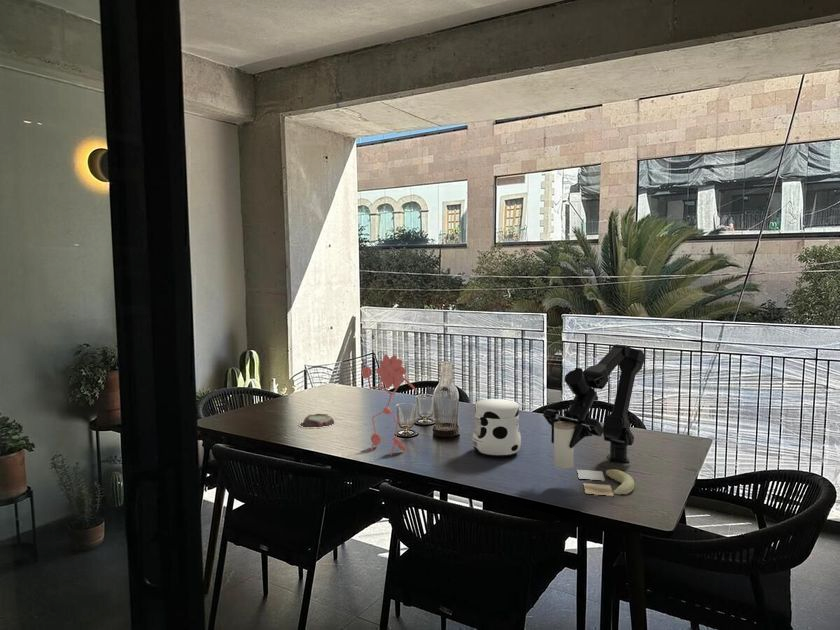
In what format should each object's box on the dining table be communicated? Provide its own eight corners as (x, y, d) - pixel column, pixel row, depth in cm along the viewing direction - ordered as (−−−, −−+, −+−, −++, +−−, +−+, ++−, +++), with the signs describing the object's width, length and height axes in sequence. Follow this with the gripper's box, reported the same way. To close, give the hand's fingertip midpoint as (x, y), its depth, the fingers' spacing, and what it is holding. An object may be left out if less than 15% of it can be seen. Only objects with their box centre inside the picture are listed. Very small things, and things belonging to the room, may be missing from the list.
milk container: (528, 450, 214) (529, 402, 213) (507, 464, 200) (508, 412, 198) (486, 442, 224) (486, 396, 222) (463, 454, 210) (463, 405, 208)
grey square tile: (576, 470, 193) (576, 469, 193) (602, 472, 192) (602, 471, 192) (578, 479, 186) (578, 478, 186) (605, 481, 184) (605, 480, 184)
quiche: (284, 424, 253) (283, 415, 252) (325, 416, 265) (325, 408, 265) (306, 435, 236) (306, 425, 236) (349, 426, 249) (349, 417, 248)
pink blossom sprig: (409, 460, 203) (409, 360, 201) (352, 447, 218) (352, 354, 215) (433, 449, 216) (434, 355, 214) (378, 438, 231) (378, 349, 228)
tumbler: (552, 461, 184) (553, 420, 183) (573, 462, 183) (573, 421, 182) (553, 468, 178) (554, 426, 177) (574, 469, 177) (575, 427, 176)
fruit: (628, 478, 188) (628, 468, 187) (638, 496, 173) (638, 485, 173) (605, 477, 189) (605, 466, 189) (613, 495, 174) (613, 484, 174)
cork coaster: (583, 484, 181) (583, 483, 181) (610, 486, 180) (610, 485, 180) (585, 494, 174) (585, 493, 174) (613, 496, 172) (613, 495, 172)
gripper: (617, 423, 183) (598, 466, 177) (566, 412, 197) (546, 452, 191) (605, 403, 177) (584, 446, 171) (552, 393, 191) (531, 433, 184)
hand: (561, 445), depth 179 cm, fingers closed on tumbler, 6 cm apart
